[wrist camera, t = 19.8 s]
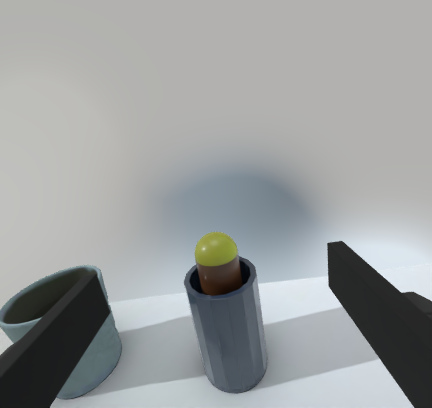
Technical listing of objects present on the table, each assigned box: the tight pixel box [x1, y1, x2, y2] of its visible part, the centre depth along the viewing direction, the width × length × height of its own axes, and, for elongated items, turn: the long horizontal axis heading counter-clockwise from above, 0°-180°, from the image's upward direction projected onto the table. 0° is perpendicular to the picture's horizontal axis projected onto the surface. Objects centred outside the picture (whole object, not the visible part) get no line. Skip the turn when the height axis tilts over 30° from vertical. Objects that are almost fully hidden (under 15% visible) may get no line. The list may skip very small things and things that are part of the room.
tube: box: [184, 256, 267, 393], centre depth 25 cm, size 8×8×12 cm
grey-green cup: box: [0, 265, 121, 399], centre depth 28 cm, size 10×10×12 cm
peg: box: [195, 232, 243, 296], centre depth 25 cm, size 4×4×16 cm
